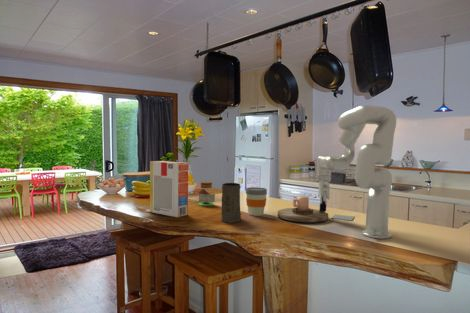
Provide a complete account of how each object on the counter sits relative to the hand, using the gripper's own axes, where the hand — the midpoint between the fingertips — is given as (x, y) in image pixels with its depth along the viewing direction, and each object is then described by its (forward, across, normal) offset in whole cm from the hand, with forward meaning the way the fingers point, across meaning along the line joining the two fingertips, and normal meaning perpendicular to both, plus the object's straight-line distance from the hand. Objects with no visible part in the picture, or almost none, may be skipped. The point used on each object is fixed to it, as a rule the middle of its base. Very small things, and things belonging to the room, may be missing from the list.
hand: (322, 210), depth 187 cm
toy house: (+5, +28, +73) cm, 79 cm away
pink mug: (+2, 0, +12) cm, 12 cm away
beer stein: (+5, -12, +50) cm, 51 cm away
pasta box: (+5, -4, +88) cm, 89 cm away
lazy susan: (+5, 0, +11) cm, 12 cm away
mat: (+5, +6, -12) cm, 14 cm away
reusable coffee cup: (+5, +6, +38) cm, 39 cm away
